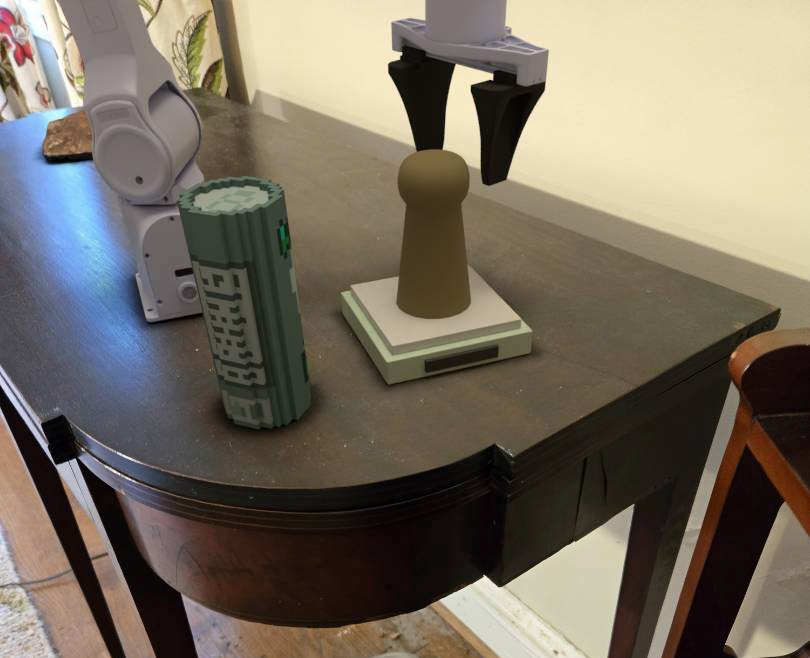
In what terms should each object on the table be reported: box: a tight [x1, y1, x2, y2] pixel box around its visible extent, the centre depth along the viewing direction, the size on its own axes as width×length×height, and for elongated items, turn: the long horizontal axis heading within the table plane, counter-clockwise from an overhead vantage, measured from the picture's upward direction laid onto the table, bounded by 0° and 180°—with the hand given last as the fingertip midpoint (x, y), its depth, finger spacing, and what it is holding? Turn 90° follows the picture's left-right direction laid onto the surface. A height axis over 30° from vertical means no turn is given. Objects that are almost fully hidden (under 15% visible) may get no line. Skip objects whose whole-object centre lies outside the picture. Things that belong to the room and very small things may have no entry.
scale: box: [340, 263, 534, 386], centre depth 63 cm, size 12×12×3 cm
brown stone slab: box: [41, 109, 93, 161], centre depth 99 cm, size 12×13×4 cm
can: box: [177, 175, 312, 430], centre depth 52 cm, size 6×6×15 cm
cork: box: [396, 149, 471, 319], centre depth 58 cm, size 6×6×11 cm
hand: (461, 169), depth 62 cm, fingers open, 7 cm apart
